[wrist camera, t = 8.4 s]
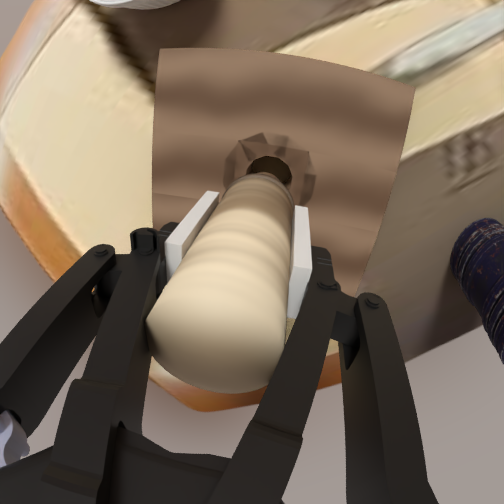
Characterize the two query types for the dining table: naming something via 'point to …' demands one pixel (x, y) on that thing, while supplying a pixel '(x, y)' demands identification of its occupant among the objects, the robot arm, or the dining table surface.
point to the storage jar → (483, 274)
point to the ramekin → (135, 3)
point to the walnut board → (281, 140)
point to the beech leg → (229, 293)
